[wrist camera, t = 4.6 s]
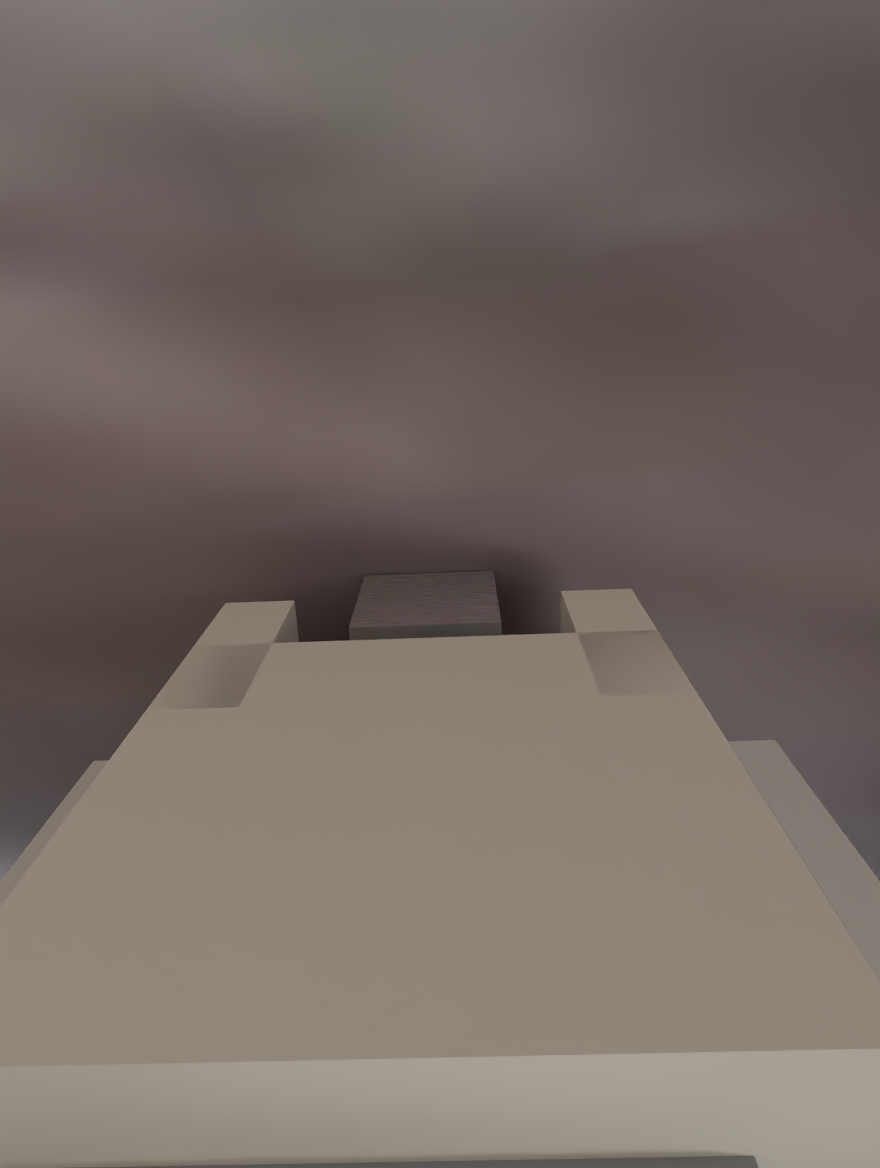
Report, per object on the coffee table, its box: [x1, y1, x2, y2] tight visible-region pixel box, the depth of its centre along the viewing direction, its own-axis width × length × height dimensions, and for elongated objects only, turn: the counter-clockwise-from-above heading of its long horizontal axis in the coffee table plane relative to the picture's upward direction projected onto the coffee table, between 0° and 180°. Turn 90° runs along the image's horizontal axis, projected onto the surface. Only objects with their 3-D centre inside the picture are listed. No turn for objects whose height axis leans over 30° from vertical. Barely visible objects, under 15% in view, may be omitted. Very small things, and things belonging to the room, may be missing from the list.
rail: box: [349, 571, 502, 640], centre depth 17 cm, size 20×2×2 cm, turn 2°
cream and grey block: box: [0, 589, 880, 1168], centre depth 10 cm, size 7×7×9 cm
